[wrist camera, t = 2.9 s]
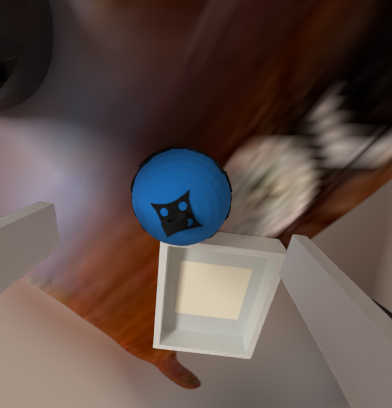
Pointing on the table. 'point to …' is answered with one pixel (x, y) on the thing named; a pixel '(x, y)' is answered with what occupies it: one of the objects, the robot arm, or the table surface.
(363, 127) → the table surface
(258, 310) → the bin
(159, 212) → the ornament
